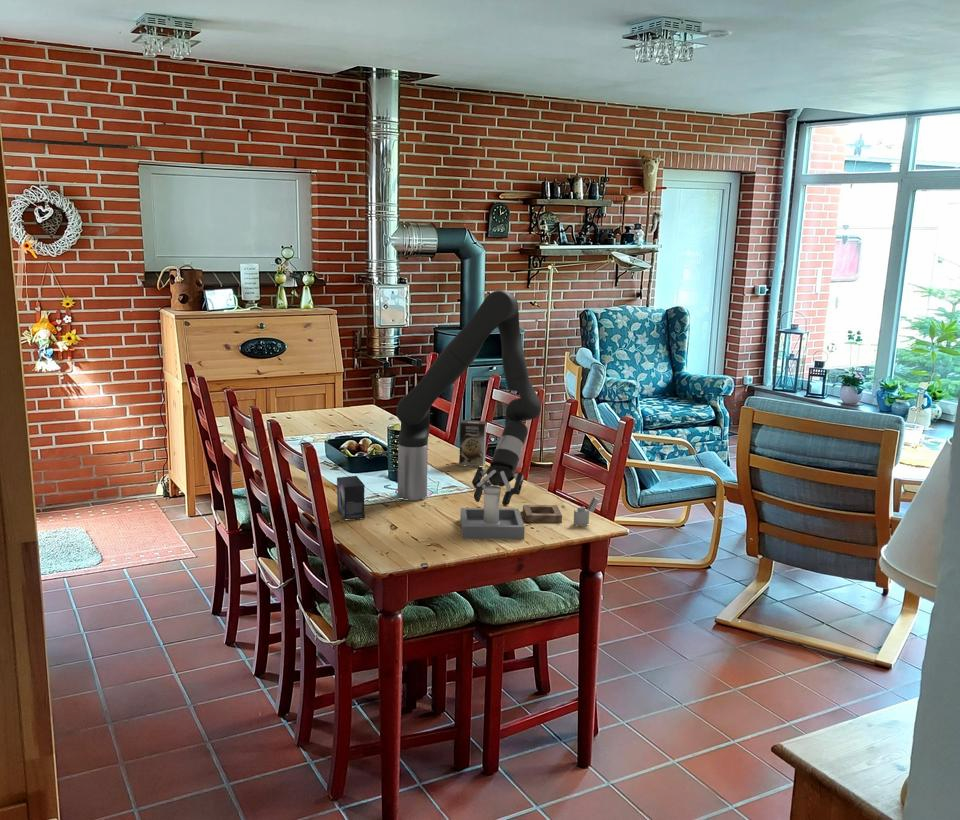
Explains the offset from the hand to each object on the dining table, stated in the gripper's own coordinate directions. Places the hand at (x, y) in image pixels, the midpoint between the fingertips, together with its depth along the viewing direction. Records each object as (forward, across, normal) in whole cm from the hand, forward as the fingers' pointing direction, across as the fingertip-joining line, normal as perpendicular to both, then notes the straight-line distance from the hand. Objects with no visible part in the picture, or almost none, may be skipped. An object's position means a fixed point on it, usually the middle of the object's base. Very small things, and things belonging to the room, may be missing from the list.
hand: (490, 502), depth 250 cm
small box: (+11, -42, +1) cm, 43 cm away
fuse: (+4, 0, +6) cm, 7 cm away
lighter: (-7, +22, +19) cm, 30 cm away
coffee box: (-40, -36, +52) cm, 75 cm away
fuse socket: (-8, +8, +20) cm, 23 cm away
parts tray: (+5, 0, +7) cm, 8 cm away
